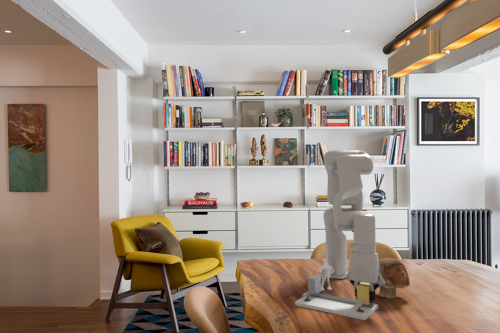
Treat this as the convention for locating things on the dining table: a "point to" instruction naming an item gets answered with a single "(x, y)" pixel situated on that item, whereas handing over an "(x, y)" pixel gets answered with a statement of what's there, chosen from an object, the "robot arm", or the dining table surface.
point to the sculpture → (392, 277)
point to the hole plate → (336, 307)
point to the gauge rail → (315, 290)
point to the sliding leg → (362, 294)
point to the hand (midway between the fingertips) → (365, 299)
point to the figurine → (325, 274)
